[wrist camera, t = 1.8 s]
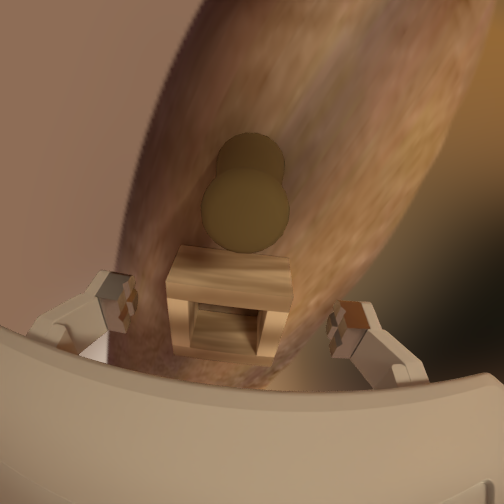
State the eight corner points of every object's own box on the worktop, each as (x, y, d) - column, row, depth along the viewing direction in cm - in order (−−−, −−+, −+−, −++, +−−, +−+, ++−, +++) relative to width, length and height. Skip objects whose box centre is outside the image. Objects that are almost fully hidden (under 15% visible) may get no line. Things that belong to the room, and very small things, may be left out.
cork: (223, 200, 26) (202, 274, 17) (210, 138, 23) (175, 180, 14) (287, 192, 26) (302, 264, 17) (281, 128, 22) (295, 164, 13)
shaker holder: (180, 244, 29) (165, 281, 24) (288, 258, 30) (293, 297, 25) (183, 317, 36) (173, 354, 31) (270, 328, 36) (271, 366, 31)
